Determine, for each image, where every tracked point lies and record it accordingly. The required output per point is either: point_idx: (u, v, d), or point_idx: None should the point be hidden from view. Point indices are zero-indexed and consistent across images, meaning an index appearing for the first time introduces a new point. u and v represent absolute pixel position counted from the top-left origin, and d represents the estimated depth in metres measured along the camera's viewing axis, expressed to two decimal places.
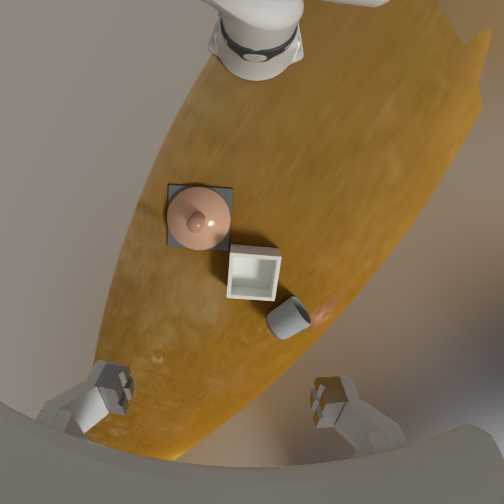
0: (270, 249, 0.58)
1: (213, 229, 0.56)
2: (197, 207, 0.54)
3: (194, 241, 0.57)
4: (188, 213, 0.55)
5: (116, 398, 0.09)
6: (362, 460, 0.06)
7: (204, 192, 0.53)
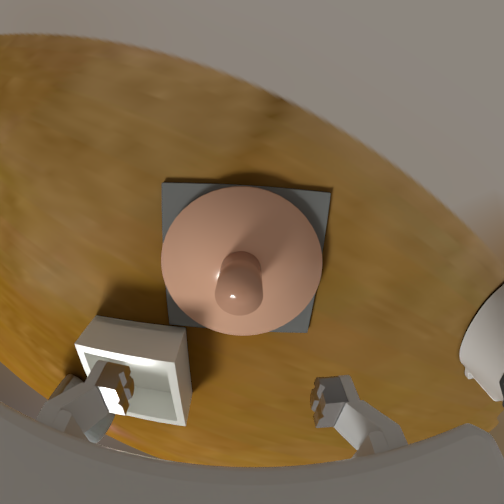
0: (189, 391, 0.27)
1: (217, 304, 0.23)
2: (271, 270, 0.22)
3: (182, 259, 0.22)
4: (257, 246, 0.21)
5: (116, 397, 0.09)
6: (362, 460, 0.06)
7: (307, 285, 0.23)
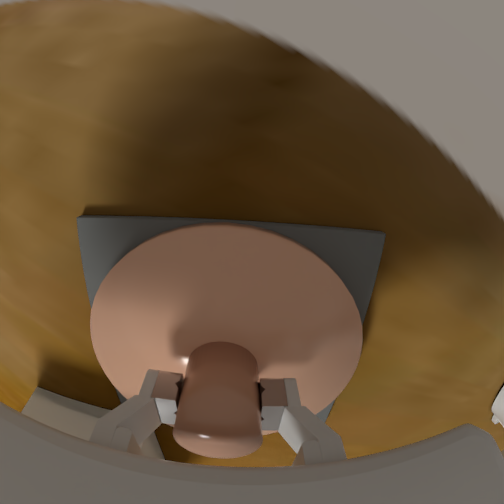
0: None
1: None
2: (274, 367, 0.12)
3: (123, 347, 0.11)
4: (250, 333, 0.11)
5: (174, 408, 0.09)
6: (362, 460, 0.06)
7: (333, 381, 0.13)
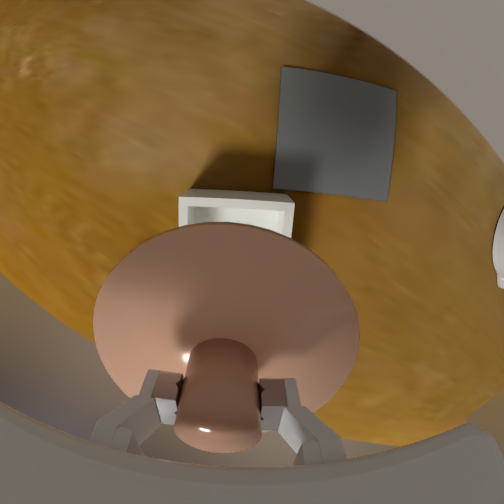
0: None
1: None
2: (273, 363, 0.12)
3: (125, 344, 0.12)
4: (250, 330, 0.12)
5: (174, 408, 0.09)
6: (362, 460, 0.06)
7: (331, 378, 0.13)
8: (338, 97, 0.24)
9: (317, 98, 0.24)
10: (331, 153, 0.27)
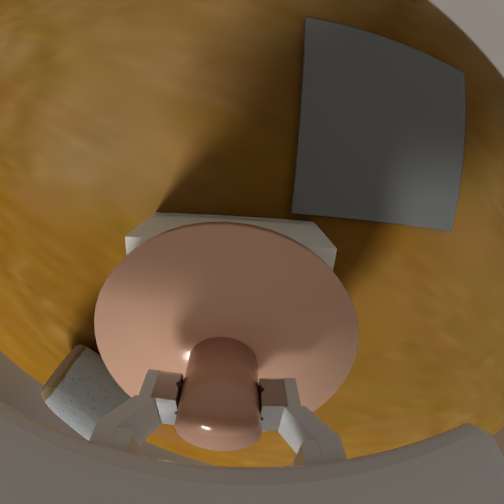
0: None
1: None
2: (273, 362, 0.12)
3: (126, 343, 0.12)
4: (250, 329, 0.12)
5: (174, 408, 0.09)
6: (362, 460, 0.06)
7: (331, 377, 0.13)
8: (392, 71, 0.13)
9: (363, 68, 0.13)
10: (384, 156, 0.16)
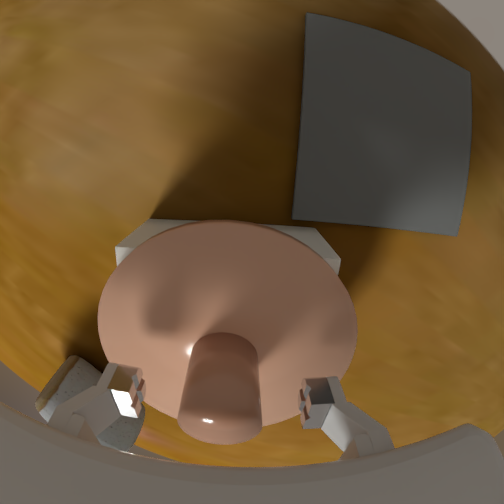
0: None
1: None
2: (273, 357, 0.13)
3: (129, 338, 0.12)
4: (251, 325, 0.12)
5: (129, 400, 0.09)
6: (362, 460, 0.06)
7: (330, 372, 0.13)
8: (397, 69, 0.13)
9: (366, 66, 0.13)
10: (389, 159, 0.15)
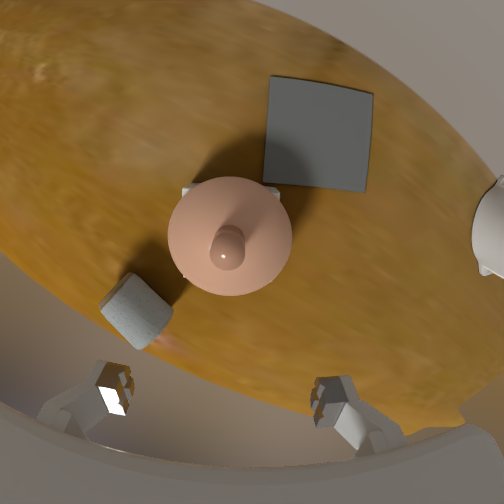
0: None
1: (211, 269, 0.30)
2: (252, 239, 0.29)
3: (184, 232, 0.28)
4: (241, 221, 0.28)
5: (116, 398, 0.09)
6: (362, 460, 0.06)
7: (281, 252, 0.29)
8: (319, 102, 0.29)
9: (301, 103, 0.29)
10: (313, 151, 0.31)
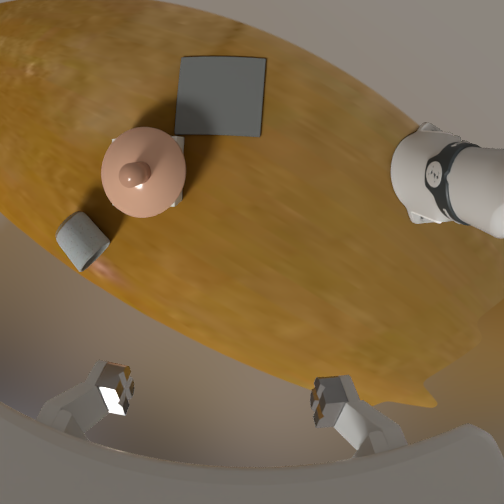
0: None
1: (129, 195, 0.37)
2: (156, 171, 0.36)
3: (111, 169, 0.35)
4: (148, 157, 0.35)
5: (116, 397, 0.09)
6: (362, 460, 0.06)
7: (177, 179, 0.36)
8: (218, 70, 0.35)
9: (203, 73, 0.35)
10: (213, 107, 0.38)
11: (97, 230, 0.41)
